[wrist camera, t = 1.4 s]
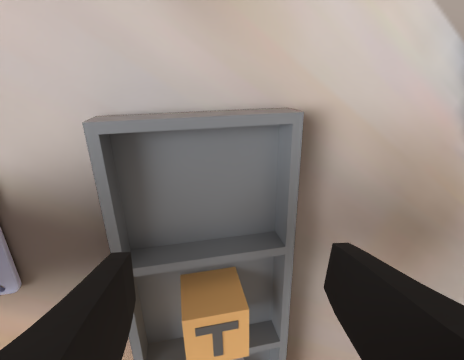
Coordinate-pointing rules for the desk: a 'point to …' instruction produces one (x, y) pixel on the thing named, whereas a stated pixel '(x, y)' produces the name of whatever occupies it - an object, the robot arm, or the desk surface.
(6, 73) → the desk surface
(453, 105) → the desk surface
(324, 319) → the desk surface
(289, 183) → the organizer
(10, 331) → the desk surface
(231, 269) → the letter cube
